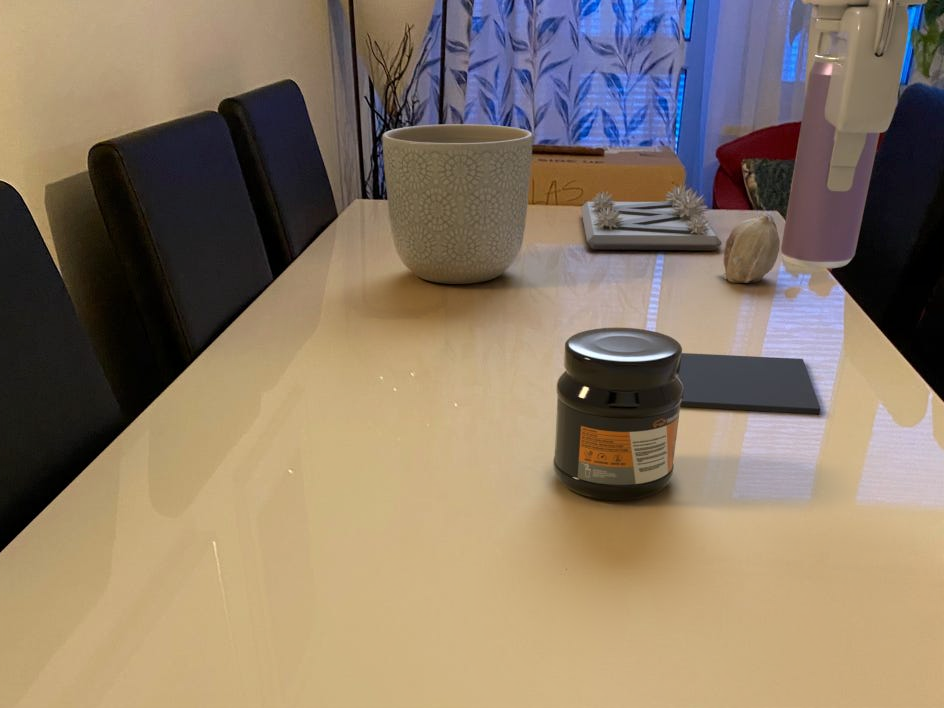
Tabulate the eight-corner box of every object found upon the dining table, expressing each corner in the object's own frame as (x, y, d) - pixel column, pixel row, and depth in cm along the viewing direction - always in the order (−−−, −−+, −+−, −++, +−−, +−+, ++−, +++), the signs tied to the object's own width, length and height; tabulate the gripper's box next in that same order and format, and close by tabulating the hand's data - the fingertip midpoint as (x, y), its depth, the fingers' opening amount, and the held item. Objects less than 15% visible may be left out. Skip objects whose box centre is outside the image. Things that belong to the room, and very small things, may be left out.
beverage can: (843, 273, 80) (886, 58, 72) (770, 264, 83) (803, 56, 74) (860, 257, 84) (902, 53, 76) (790, 250, 87) (823, 52, 78)
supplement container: (665, 511, 82) (682, 369, 75) (540, 497, 84) (546, 358, 77) (677, 462, 90) (694, 330, 84) (564, 450, 93) (571, 320, 86)
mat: (802, 363, 113) (803, 358, 113) (819, 414, 100) (820, 408, 100) (677, 357, 115) (678, 352, 115) (678, 406, 102) (679, 401, 102)
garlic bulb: (743, 289, 149) (759, 219, 146) (787, 292, 142) (805, 218, 140) (699, 277, 144) (716, 204, 141) (743, 279, 137) (761, 202, 134)
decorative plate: (580, 215, 184) (582, 173, 180) (696, 215, 183) (701, 174, 179) (586, 252, 159) (589, 204, 156) (721, 253, 158) (727, 205, 154)
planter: (361, 272, 149) (353, 131, 138) (470, 252, 159) (470, 120, 149) (443, 301, 135) (441, 148, 125) (557, 278, 146) (563, 134, 135)
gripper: (947, -24, 63) (896, 207, 71) (886, -24, 80) (850, 163, 88) (845, -23, 64) (806, 205, 72) (806, -23, 81) (777, 162, 89)
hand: (830, 181), depth 80 cm, fingers closed on beverage can, 6 cm apart
